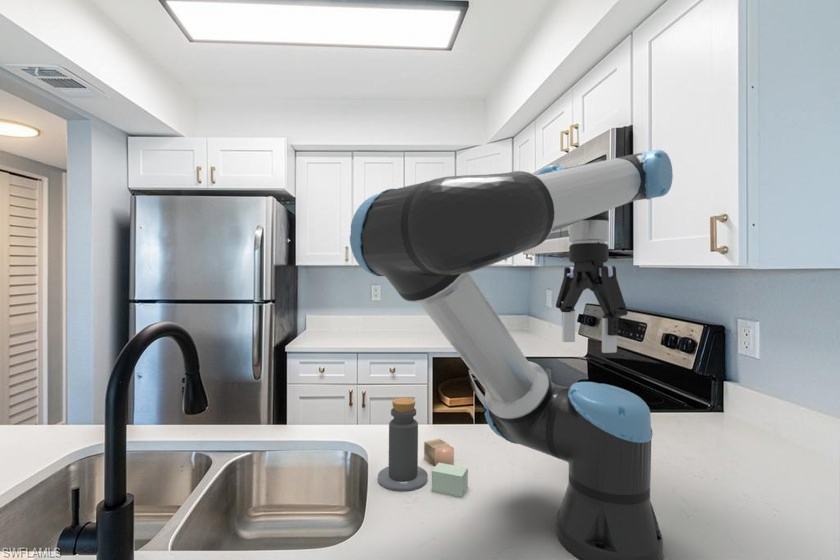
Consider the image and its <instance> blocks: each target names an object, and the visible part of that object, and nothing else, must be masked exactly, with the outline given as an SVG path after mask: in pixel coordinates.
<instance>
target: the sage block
mask: <svg viewBox="0 0 840 560" xmlns="http://www.w3.org/2000/svg"><path fill="white" fill-rule="evenodd" d="M468 475H469V467H465V466H460V465H455V464H454V465H450V464H444V463H438V464H437V465H436V466H434V468H433V469H432V470H431V492H435V493H438V494H439V493H440V494H445V495H449V496H454V497H459V498H463V497H464V495H465V493H466V492H467V489H468V488H469V487H468V486H469V485H468V484H469V478H468V477H469V476H468Z"/></svg>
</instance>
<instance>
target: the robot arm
mask: <svg viewBox="0 0 840 560" xmlns="http://www.w3.org/2000/svg"><path fill="white" fill-rule="evenodd" d="M673 178H674V177H673V166H672V161H671V159H670V156H669V155H668V153H666V152H665V151H664V150H661V149H657V150H650V151H642V152H638V153H634V154H629V155H624V156H619V157H615V158H610V159H606V160H600V161H595V162H594V161H593V162H589V163H584V164H580V165H576V166H575V165H574V166H569V167H565V166H563V165H556V164H555V165H554V164H551V165H547V166H544V167H542V168H541V169H540V170H539V171H538V172H537V173H536V174H534V173H532V172H529V171H526V170H524V171H523V170H517V171H515V170H514V171H510V172H503V173H502V172H500V173H492V174H491V173H490V174H469V175H468V174H465V175H464V174H463V175H452V176H451V175H450V176H444V177H439V178H438V177H437V178H434V179H431V180H427V181H424V182H421V183H416V184H415V183H414V184H411V185H407V186H403V187H398V188H389V189H385V190H382V191H381V192H380V193H378V194H377V193H376V194H374V195H372V196H370V197H368V198H367V199H366V200H364V201H363V202H362V203H361V204H360V205H359V206H358V208H357V210H356V211H355V213H354V215H353V217H352V220H351V223H350V235H349V243H350V245H349V246H350V249H351V253H352V254H353V257H354V259H355V261H356V262H357V264H358V265H359V266H360V267H361V268H362V270H364V271H365V272H367V273H369V274H372V275H373V276H375V277H385V278H386V280H388V282H389V284H391V285H392V287H393V289H395V291H396V292H397V293H398V294H399V296H400V297H401V298H402V299H403V301H405V302H408V303H419V304H420V305H421V307H422V308H423V310H424V311H425V312H426V313H427V315H428V316H429V317H430V318H431V320H432V321H433V322H434V324H435V326H437V328H438V329H439V330H440V332H441V333H442V335H443V336H444V337H445V338H446V340H447V341H448V342H449V344H450V345H451V346H452V347H453V349H454V350H455V352H456V354H458V356H459V357H460V358H461V360H462V361H463V362H464V363H465V365H466V366H467V368H468V369H469V370H470V371H471V373H472V374H473V375H474V377H475V378H476V379H477V380H478V382H479V383H480V384H481V386H482V388H484V390H485V393H484V401H483V402H484V403H483V408H484V409H486V411H485V412H484V417H485V420H486V422H487V424H488V426H489V428H490V429H491V430H492V431H493V433H495V434H496V435H497V436H499V437H500V438H502V439H504V440H505V441H506V442H507V441H508V442H510V443H511V444H515V445H520V446H523V447H526V448H529V449H532V450H534V451H537V452H540V453H542V454H545V455H549V456H552V457H554V458H557V459H559V460H561V461H564V462H565V463H568V483H567V486H566V490H565V492H564V496H563V498H562V500H561V501H562V502H561V505H560V508H559V509H558V511H557V513H556V525H555V526H556V535H557V539H558V540H559V541H560V543H561V545H562V546H563V547H564V548H565V549H566V550H567V551H569V552H570V553H571V554H572V555H574V556H575V557H576V558H578V559H580V560H663V558H664V539H663V535H662V533H661V532H662V531H661V530H660V526H659V522H658V520H657V517H656V514H655V509H654V507H653V504H652V502H651V479H652V478H651V472H652V471H651V470H652V439H653V435H654V433H653V429H652V419H651V417H652V416H651V410H650V407H649V406H648V405H647V402H645V401H644V399H642V398H641V397H640V396H639V395H637V394H635V393H633V392H631V391H629V390H627V389H624V388H621V387H618V386H615V385H611V384H607V383H599V382H593V381H579V382H574V383H572V384H571V385H570V387H566V386H561V385H557V384H555V383H554V382H553V381H552V380H551V378H550V377H549V375H548V373H547V372H546V371H545V369H544V368H543V366H541V365H539V364H538V363H536V362H533V361H529V360H528V359H527V357H526V356H525V355H524V353H523V352H522V350H521V348H520V347H519V345H518V344H517V342H516V341H515V340H514V338H513V336H512V335H511V334H510V332H509V330H508V328H507V327H506V326H505V324H504V322H503V321H502V320H501V318H500V316H499V314H498V313H497V312H496V310H495V308H494V307H493V306H492V304H491V303H490V301H489V300H488V298H487V297H486V295H485V293H484V291H482V289H481V287H480V286H479V284H478V283H477V281H476V279H475V278H474V276H473V275H472V272H475V271H478V270H480V269H485V268H486V267H489V266H491V265H494V264H496V263H499V262H503V261H505V260H507V259H509V258H512V257H514V256H517V255H519V254H522V253H524V252H526V251H529V250H531V249H533V248H536V247H538V246H539V245H541V244H543V243H544V242H545V241H546V240H547V239H548V238H549V237H550V235H551V233H552V232H555V231H558V230H560V229H562V228H565V227H568V226H569V230H568V232H569V234H568V241H569V242H570V243H571V244H570V245H569V248H568V249H569V250H568V260H569V262H571V263H573V266H571V267H569V266H566V267H564V270H563V271H564V272H563V279H562V283H561V285H560V289H559V293H558V296H557V299H556V304H555V307H556V308H557V309H559V310H560V312H561V328H562V329H561V341H562V343H574V342H575V343H576V310H575V306H576V305H577V303H578V301H579V300H580V297H581V296H582V294H583V292H584V291H586V290H590V291H591V292H593V294H594V296H595V298H596V300H597V303H598V304H599V306H600V308H601V310H602V312H603V314H604V315H603V316H602V319H601V353H603V354H609V353H614V354H615V353H617V352H618V351H617V350H618V344H617V343H618V334H619V319H620V318H621V317H623V316H624V317H625V316H627V315H628V309H627V306H626V303H625V300H624V297H623V293H622V291H621V287H620V285H619V282H618V278H617V268H616V266H614V265H611V266H610V265H604V263H607V262H608V261H609V245H608V243H606V242H608V241H609V221H610V220H609V219H610V218H609V215H610V214H609V211H610V210H612V209H616V208H617V207H621V206H623V205H626V204H629V203H632V202H634V201H641V200H642V201H643V200H647V201H648V200H651V199H655V198H660V197H665V196H666V195H667V194H668V193H669V191H670V189H671V187H672V184H673Z"/></svg>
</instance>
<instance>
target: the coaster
mask: <svg viewBox="0 0 840 560" xmlns="http://www.w3.org/2000/svg"><path fill="white" fill-rule="evenodd" d="M428 478H429V475H428V472H427V471H426V470H425V469H424V468H422V467H420V466H418V473H417V477H416V478H415V479H413V480H410V481H395V480H393V479H391V478H390V477H389V466H385V467H384V468H383V469H381V470H380V471H379V472H378V474H377V482H378V484H379V485H380V487H383V488H385V489H386V490H389V491H394V492H410V491H415V490H419V489H421V488H422V487H423V488H424V486H425V485H426V484H427V483H428V480H429V479H428Z"/></svg>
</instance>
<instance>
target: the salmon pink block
mask: <svg viewBox="0 0 840 560" xmlns="http://www.w3.org/2000/svg"><path fill="white" fill-rule="evenodd" d="M438 463H444V464H450V465H455V448H454V447H453V446H451V445H449V446H448V445H439V446H437V447H435V466H436V465H437V464H438ZM435 466H434V467H435Z"/></svg>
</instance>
